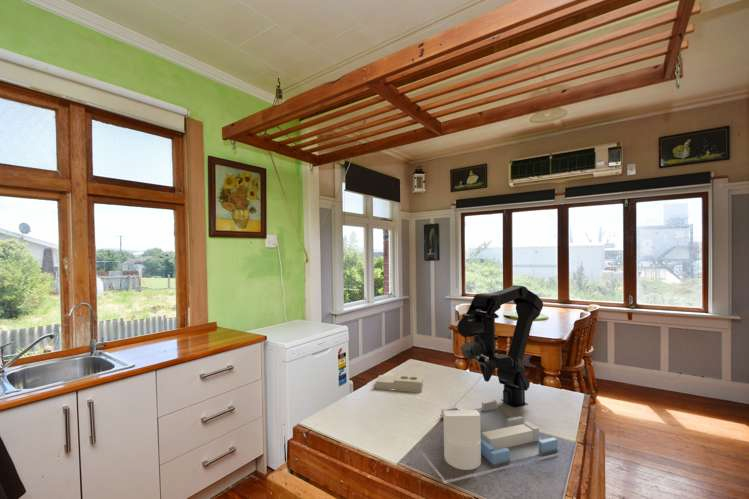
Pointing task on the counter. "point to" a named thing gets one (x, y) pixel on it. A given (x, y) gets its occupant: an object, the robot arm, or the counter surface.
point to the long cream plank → (511, 435)
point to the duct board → (498, 420)
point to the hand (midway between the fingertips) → (486, 381)
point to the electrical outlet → (400, 382)
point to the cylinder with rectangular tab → (462, 438)
